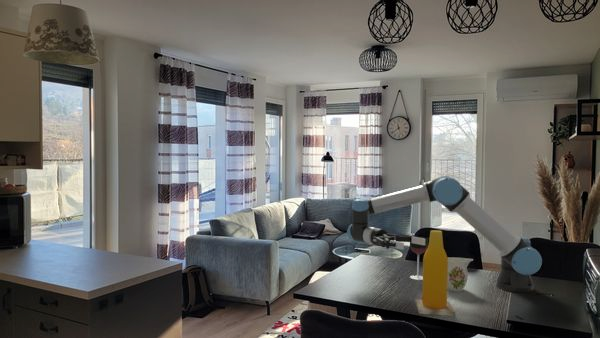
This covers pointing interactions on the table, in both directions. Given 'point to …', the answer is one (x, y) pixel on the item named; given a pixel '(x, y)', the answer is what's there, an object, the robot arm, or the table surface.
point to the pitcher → (457, 273)
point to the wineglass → (418, 250)
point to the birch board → (425, 310)
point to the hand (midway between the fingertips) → (414, 244)
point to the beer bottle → (435, 273)
